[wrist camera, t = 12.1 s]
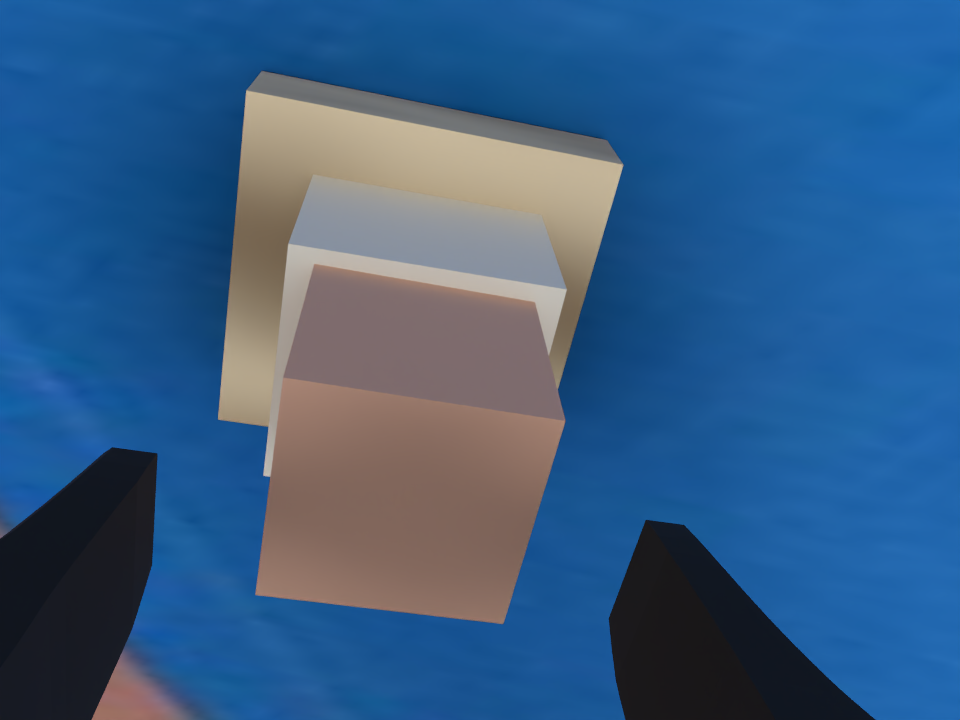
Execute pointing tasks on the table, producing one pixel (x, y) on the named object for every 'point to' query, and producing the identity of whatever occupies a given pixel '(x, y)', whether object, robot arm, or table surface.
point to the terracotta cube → (408, 448)
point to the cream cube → (414, 253)
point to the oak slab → (399, 165)
